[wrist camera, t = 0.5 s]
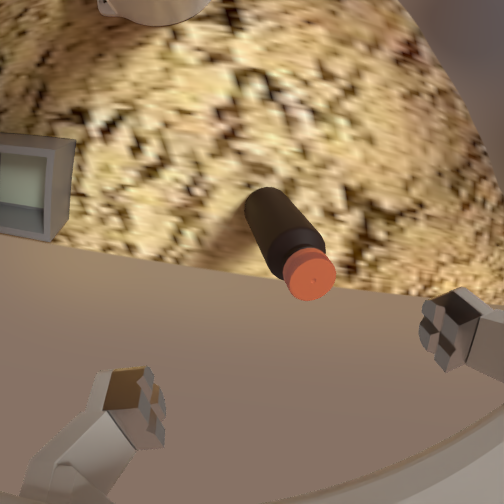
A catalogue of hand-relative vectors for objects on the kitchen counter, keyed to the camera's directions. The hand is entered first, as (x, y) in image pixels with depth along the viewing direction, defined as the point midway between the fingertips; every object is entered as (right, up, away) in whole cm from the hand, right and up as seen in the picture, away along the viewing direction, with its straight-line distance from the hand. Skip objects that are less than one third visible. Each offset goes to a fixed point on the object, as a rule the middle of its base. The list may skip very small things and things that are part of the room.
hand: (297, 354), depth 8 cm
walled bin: (-35, +14, +29) cm, 47 cm away
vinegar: (+1, +9, +39) cm, 41 cm away
